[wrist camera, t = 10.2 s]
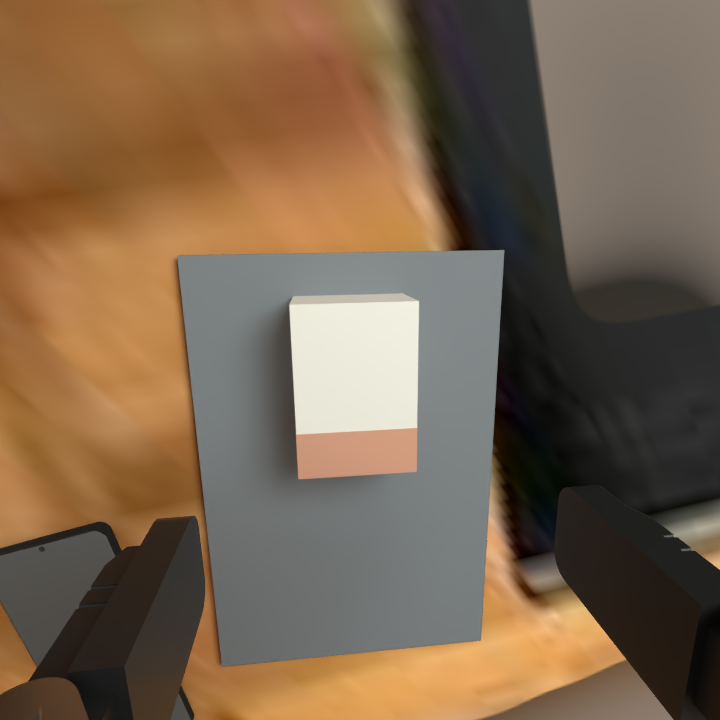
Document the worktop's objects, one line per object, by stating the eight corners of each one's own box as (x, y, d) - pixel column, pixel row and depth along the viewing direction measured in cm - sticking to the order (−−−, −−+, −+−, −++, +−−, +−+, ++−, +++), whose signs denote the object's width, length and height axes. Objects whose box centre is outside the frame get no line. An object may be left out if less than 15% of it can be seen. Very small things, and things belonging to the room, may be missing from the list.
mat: (478, 634, 29) (480, 640, 28) (223, 659, 27) (222, 666, 27) (500, 250, 23) (504, 250, 23) (180, 255, 22) (176, 255, 21)
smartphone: (86, 758, 28) (-27, 560, 24) (93, 743, 29) (-14, 548, 25) (196, 727, 28) (103, 525, 24) (199, 712, 29) (110, 515, 25)
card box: (292, 296, 22) (289, 304, 19) (402, 293, 23) (419, 301, 19) (300, 446, 24) (298, 479, 21) (401, 440, 25) (416, 471, 21)
